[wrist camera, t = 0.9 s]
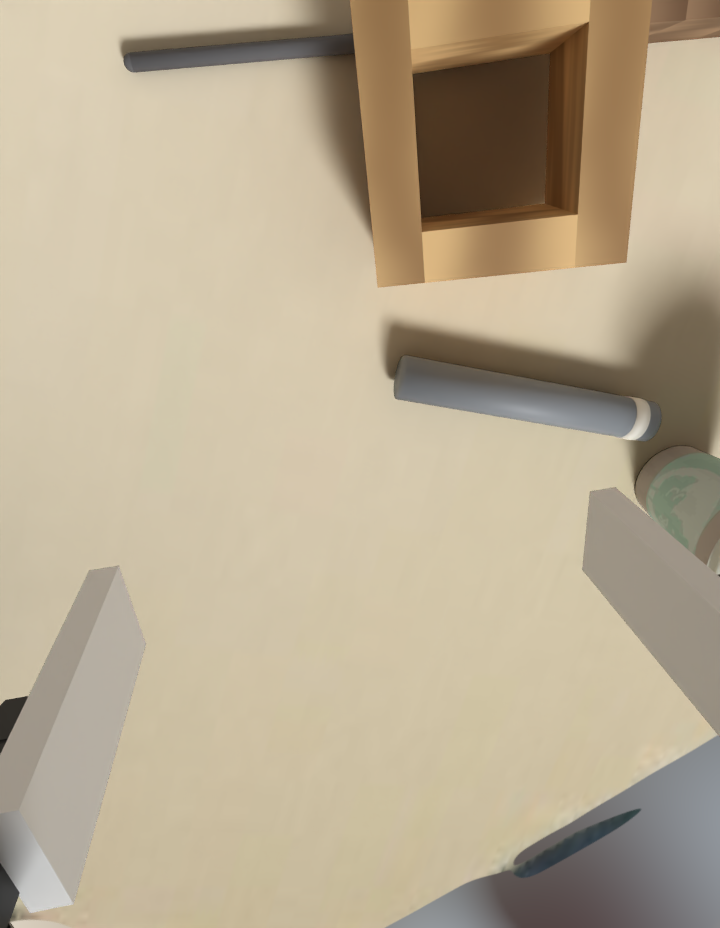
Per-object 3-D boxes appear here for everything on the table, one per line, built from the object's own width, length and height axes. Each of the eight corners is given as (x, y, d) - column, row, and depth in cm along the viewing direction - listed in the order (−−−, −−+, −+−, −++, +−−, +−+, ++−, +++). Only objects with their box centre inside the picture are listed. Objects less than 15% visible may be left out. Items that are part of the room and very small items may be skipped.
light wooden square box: (385, 263, 34) (377, 287, 28) (364, 26, 29) (348, -13, 22) (584, 242, 33) (626, 262, 26) (600, -12, 27) (658, -66, 21)
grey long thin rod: (128, 74, 28) (124, 71, 28) (123, 55, 28) (119, 51, 27) (453, 46, 30) (458, 42, 29) (453, 27, 29) (457, 23, 29)
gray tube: (396, 409, 36) (644, 450, 39) (410, 369, 34) (668, 417, 37) (391, 383, 38) (626, 425, 41) (404, 345, 36) (648, 392, 40)
